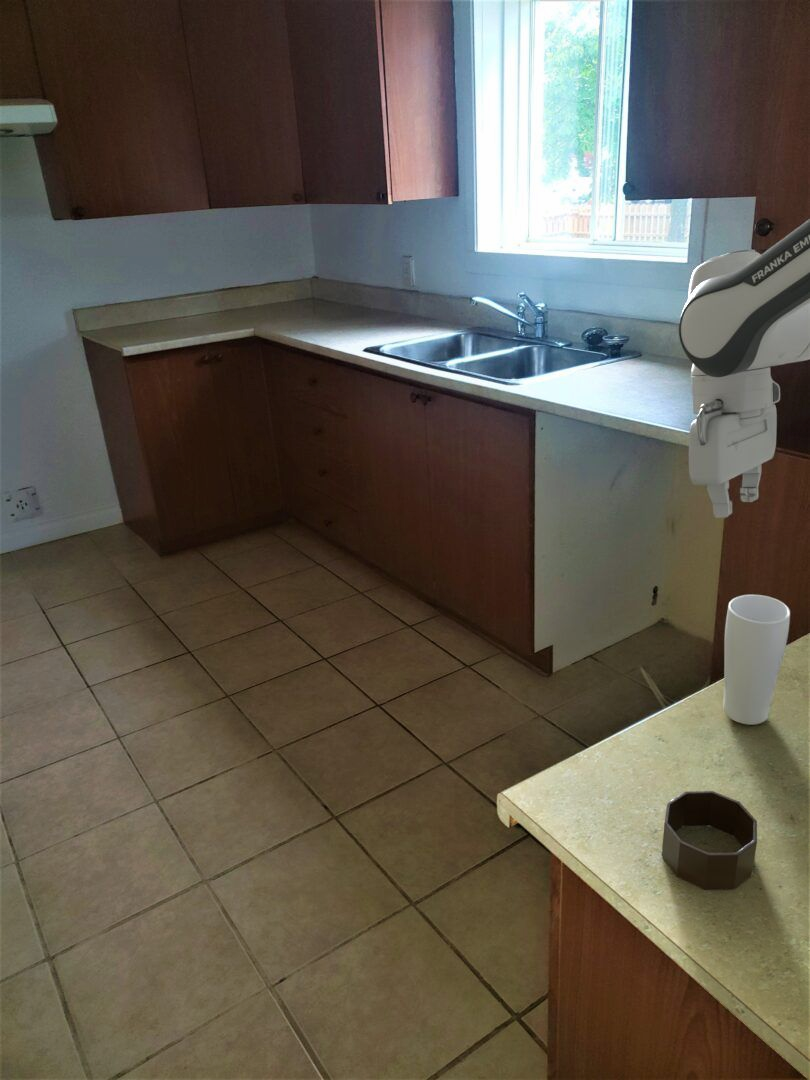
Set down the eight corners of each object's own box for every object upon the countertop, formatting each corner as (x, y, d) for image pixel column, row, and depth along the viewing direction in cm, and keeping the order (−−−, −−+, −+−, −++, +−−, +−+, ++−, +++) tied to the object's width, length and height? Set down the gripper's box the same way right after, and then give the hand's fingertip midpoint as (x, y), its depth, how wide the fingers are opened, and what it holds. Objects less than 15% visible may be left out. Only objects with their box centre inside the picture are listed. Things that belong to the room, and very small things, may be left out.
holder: (752, 832, 84) (757, 799, 82) (751, 900, 77) (757, 865, 75) (666, 815, 87) (669, 782, 85) (658, 879, 80) (661, 845, 78)
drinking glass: (787, 716, 99) (804, 610, 93) (750, 738, 96) (765, 630, 90) (740, 690, 105) (753, 587, 98) (704, 709, 102) (714, 605, 95)
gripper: (726, 403, 88) (733, 527, 91) (784, 385, 103) (788, 493, 106) (670, 407, 92) (678, 526, 95) (733, 390, 107) (738, 493, 110)
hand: (736, 508), depth 101 cm, fingers open, 8 cm apart
